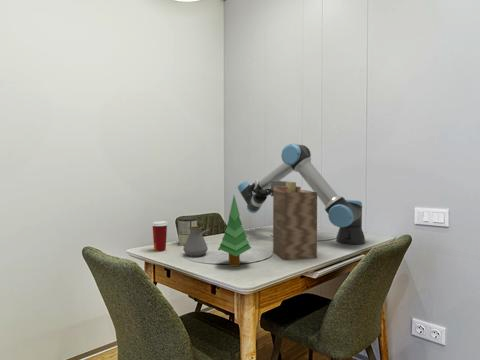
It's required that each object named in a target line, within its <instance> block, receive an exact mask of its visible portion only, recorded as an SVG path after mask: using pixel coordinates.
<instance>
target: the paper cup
mask: <svg viewBox="0 0 480 360" xmlns="http://www.w3.org/2000/svg"><path fill="white" fill-rule="evenodd" d="M151 226H152V234H153V235H152V238H153V250H154V251H155V252H164V251H166V249H167V234H168V233H167V232H168V231H167V230H168V221H164V220H162V221H161V220H160V221H153V222H152V224H151Z"/></svg>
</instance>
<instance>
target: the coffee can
mask: <svg viewBox="0 0 480 360" xmlns="http://www.w3.org/2000/svg"><path fill="white" fill-rule="evenodd" d="M177 220H178V221H177V222H178V223H177V224H178V227H177V228H178V229H177V230H178V245H179V246H183V247H184V246H185V244H186V241H187V239H188V236H189V234H190V229H189V227H198V217H196V216H181V217H178V218H177Z"/></svg>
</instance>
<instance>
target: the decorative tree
mask: <svg viewBox="0 0 480 360" xmlns="http://www.w3.org/2000/svg"><path fill="white" fill-rule="evenodd" d="M239 211H240V210H239V208H238V204H237V201H236V196H235V195H233V198H232V201H231V207H230V211H229V215H228V222H227V225H226V229H225V231H224V235H223V237H222V240H221V242H220V244H219V247H218V248H217V250H218V251H220V250H221V251H222V252H225V253H228V266H231V267H238V266H241V264H240V262H241V261H240V260H241V259H240V256H241V254H244V253H246V252H247V251H249V250H251V249H252V246H251V245H250V244H249V243H250V242H249V240H248V239H247V235H246V233H245V229H244V228H243V223H242V221H241V218H240V216H241V215H240V212H239Z"/></svg>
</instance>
